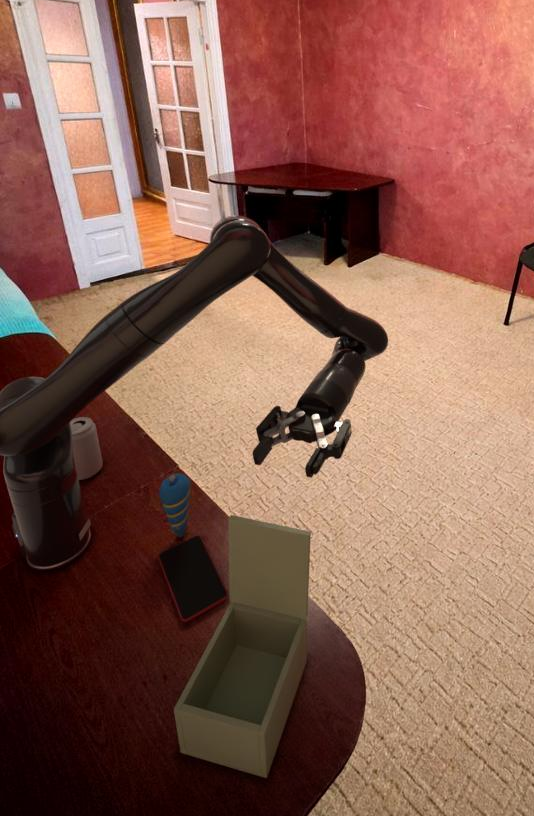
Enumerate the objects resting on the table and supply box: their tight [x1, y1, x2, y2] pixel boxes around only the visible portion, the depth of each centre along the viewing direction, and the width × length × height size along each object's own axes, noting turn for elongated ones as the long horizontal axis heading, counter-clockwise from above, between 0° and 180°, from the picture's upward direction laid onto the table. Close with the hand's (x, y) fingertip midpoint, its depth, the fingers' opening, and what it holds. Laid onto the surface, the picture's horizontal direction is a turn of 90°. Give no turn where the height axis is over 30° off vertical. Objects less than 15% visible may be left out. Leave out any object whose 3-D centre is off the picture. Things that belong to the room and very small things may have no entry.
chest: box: [173, 601, 308, 779], centre depth 64 cm, size 14×12×9 cm
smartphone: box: [157, 535, 229, 623], centre depth 82 cm, size 7×1×15 cm
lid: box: [227, 514, 312, 620], centre depth 67 cm, size 14×12×1 cm
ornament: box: [158, 473, 191, 538], centre depth 87 cm, size 5×5×15 cm
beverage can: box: [70, 416, 104, 481], centre depth 101 cm, size 6×6×12 cm
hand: (281, 467), depth 70 cm, fingers open, 8 cm apart
